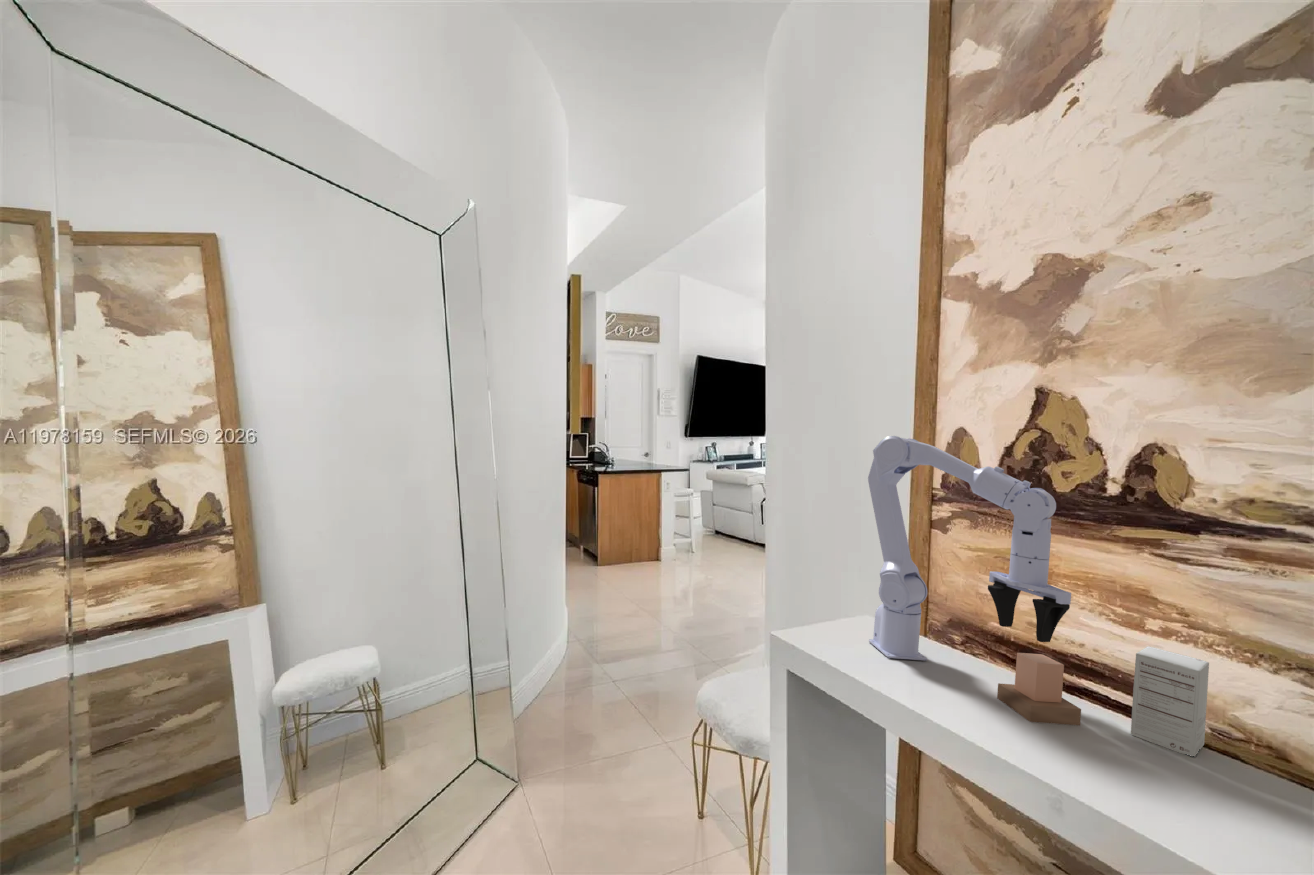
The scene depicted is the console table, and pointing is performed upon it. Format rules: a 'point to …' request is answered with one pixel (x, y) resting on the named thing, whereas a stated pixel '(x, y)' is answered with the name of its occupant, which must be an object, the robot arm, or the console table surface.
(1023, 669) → the cube
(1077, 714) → the walnut block
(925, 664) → the console table surface
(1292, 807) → the console table surface
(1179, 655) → the supplement box
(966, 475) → the robot arm
